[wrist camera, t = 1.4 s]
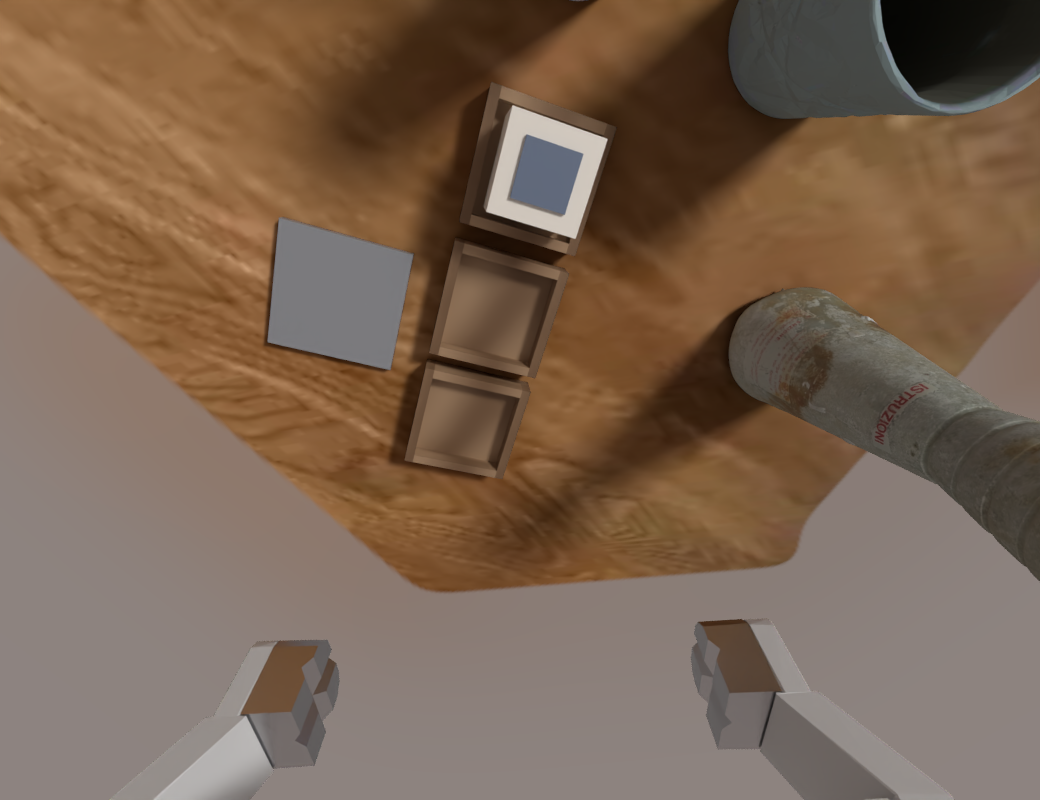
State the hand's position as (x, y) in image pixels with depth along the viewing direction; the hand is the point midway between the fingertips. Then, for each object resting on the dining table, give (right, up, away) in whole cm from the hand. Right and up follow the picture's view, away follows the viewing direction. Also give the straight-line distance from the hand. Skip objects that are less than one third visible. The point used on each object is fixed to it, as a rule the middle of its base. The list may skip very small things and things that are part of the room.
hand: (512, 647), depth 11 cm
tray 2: (-1, +12, +22) cm, 25 cm away
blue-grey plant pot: (+17, +27, +18) cm, 36 cm away
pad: (-12, +12, +21) cm, 27 cm away
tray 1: (+1, +19, +19) cm, 27 cm away
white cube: (+1, +19, +19) cm, 27 cm away
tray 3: (-4, +4, +26) cm, 26 cm away
